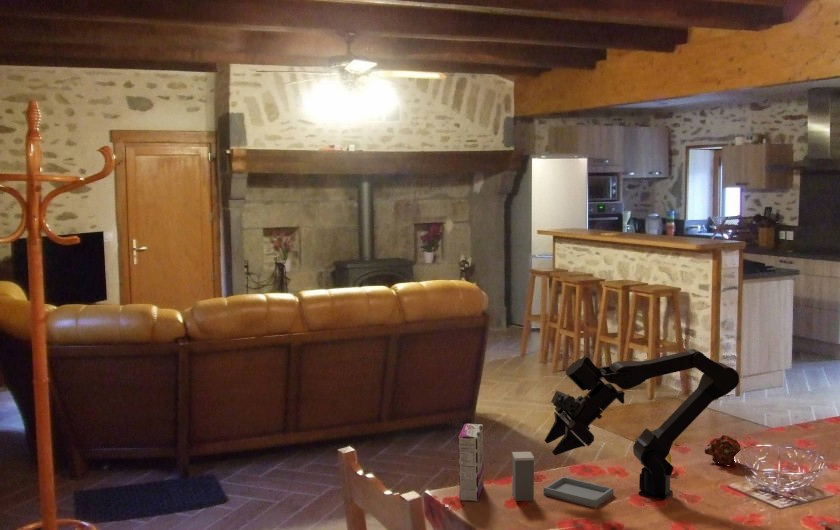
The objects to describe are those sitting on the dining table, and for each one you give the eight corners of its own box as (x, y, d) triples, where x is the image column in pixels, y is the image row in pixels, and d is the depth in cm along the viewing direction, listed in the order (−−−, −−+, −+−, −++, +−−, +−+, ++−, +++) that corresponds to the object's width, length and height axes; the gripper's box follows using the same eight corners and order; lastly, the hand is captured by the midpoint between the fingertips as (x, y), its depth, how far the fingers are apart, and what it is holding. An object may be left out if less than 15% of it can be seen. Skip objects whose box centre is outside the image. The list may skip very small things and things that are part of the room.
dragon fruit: (733, 477, 217) (712, 469, 229) (756, 457, 218) (733, 449, 230) (714, 452, 217) (693, 445, 228) (737, 432, 218) (716, 426, 230)
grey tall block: (530, 494, 202) (530, 451, 201) (534, 501, 198) (534, 457, 197) (511, 494, 202) (511, 452, 201) (515, 502, 197) (515, 458, 196)
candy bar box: (464, 484, 209) (464, 422, 208) (484, 486, 208) (483, 423, 207) (458, 501, 198) (457, 435, 197) (478, 502, 197) (478, 436, 196)
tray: (613, 495, 201) (613, 488, 201) (595, 507, 193) (595, 500, 193) (563, 483, 210) (563, 476, 210) (543, 494, 202) (543, 487, 202)
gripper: (563, 372, 207) (520, 415, 207) (581, 389, 188) (533, 437, 189) (593, 401, 208) (550, 444, 209) (614, 422, 189) (566, 469, 190)
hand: (549, 447), depth 199 cm, fingers open, 9 cm apart
